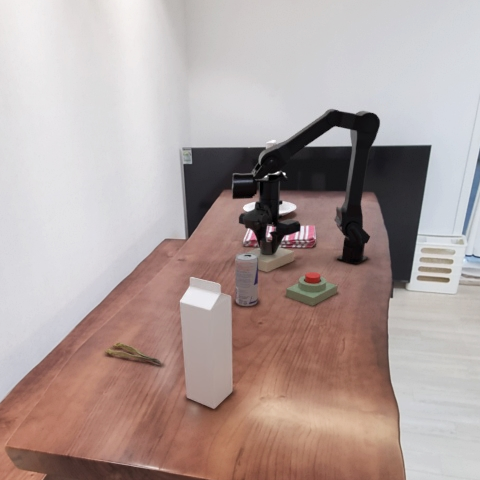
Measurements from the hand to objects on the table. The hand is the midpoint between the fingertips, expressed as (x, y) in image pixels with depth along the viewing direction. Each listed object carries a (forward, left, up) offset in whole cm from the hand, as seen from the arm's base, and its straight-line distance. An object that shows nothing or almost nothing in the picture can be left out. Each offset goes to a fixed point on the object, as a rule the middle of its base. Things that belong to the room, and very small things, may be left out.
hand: (267, 251), depth 136 cm
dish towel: (-19, -11, -4) cm, 22 cm away
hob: (0, 0, -4) cm, 4 cm away
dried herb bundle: (+58, +15, -4) cm, 60 cm away
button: (+10, +23, 0) cm, 25 cm away
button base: (+10, +23, -4) cm, 25 cm away
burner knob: (0, 0, 0) cm, 0 cm away
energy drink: (+24, +14, -4) cm, 28 cm away
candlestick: (-38, -32, -4) cm, 50 cm away
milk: (+56, +35, -4) cm, 66 cm away
